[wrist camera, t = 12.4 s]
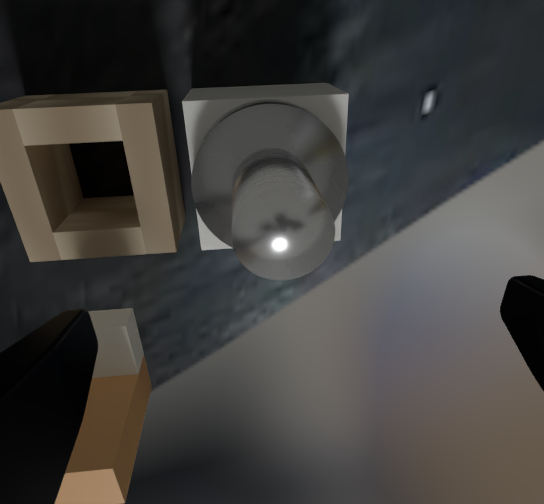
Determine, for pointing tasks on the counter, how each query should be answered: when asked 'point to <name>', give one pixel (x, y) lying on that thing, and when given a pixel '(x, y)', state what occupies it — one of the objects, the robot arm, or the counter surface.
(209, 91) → the grey block
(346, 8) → the counter surface
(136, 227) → the birch socket block
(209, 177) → the grey flanged peg
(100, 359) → the tan and grey l-block
